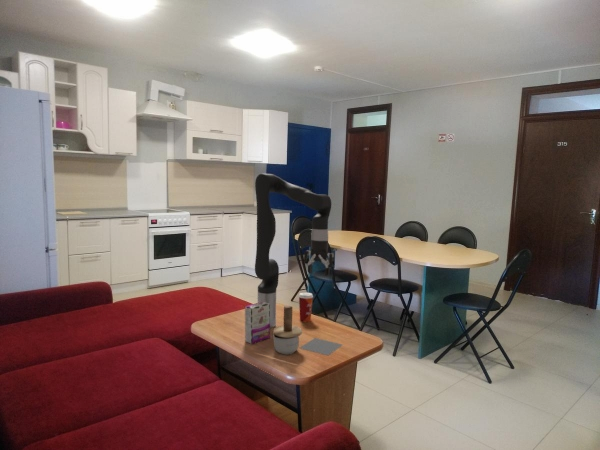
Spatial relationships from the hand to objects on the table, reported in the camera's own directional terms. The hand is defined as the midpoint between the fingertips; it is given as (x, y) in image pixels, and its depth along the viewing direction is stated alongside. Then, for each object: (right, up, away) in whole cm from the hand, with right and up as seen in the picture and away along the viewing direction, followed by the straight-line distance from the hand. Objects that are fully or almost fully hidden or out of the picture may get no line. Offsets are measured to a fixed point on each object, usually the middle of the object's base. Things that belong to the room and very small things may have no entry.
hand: (318, 274), depth 181 cm
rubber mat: (+1, -31, -6) cm, 31 cm away
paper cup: (-6, -28, +29) cm, 41 cm away
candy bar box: (-28, -30, +1) cm, 41 cm away
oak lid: (-14, -23, -12) cm, 29 cm away
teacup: (-14, -31, -11) cm, 36 cm away
